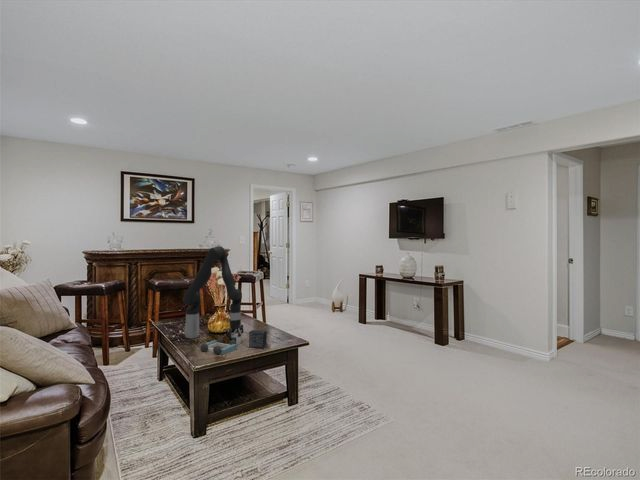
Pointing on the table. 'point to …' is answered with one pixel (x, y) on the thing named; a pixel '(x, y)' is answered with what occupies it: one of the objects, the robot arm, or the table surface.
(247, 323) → the table surface
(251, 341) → the small box
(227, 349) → the chassis
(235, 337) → the block
